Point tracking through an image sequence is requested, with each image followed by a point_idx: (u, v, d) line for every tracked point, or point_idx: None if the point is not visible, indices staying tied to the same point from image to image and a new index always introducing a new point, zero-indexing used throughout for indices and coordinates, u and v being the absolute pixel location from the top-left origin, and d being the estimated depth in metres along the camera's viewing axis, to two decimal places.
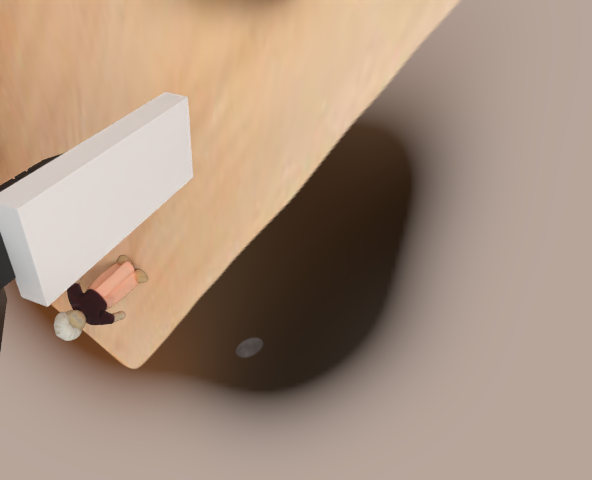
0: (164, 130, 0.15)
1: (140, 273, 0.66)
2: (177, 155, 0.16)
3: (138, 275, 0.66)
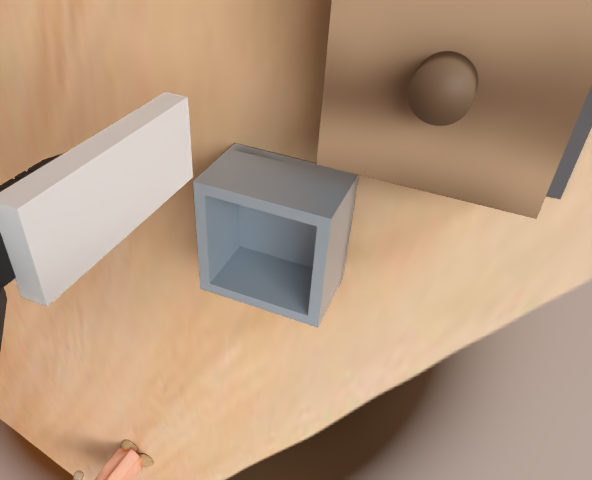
0: (164, 130, 0.15)
1: (145, 459, 0.62)
2: (177, 155, 0.16)
3: (144, 461, 0.62)
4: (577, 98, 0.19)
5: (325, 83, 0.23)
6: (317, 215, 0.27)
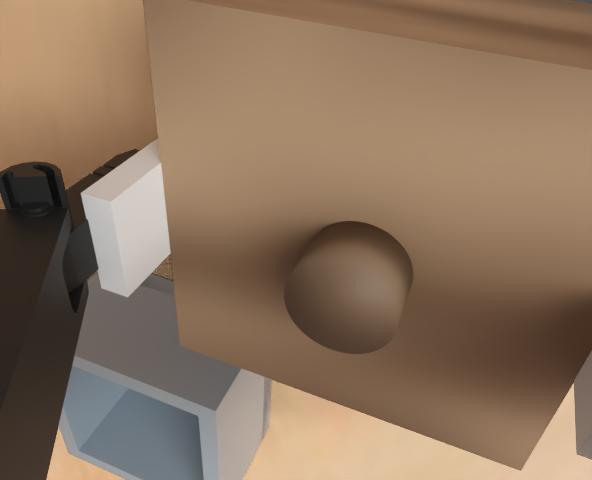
0: None
1: None
2: None
3: None
4: None
5: (171, 243, 0.14)
6: (196, 402, 0.18)
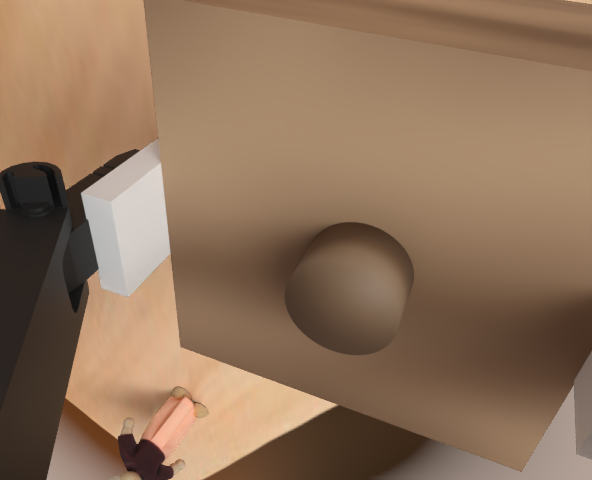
0: None
1: (200, 408, 0.56)
2: None
3: (198, 410, 0.56)
4: None
5: (171, 244, 0.14)
6: None
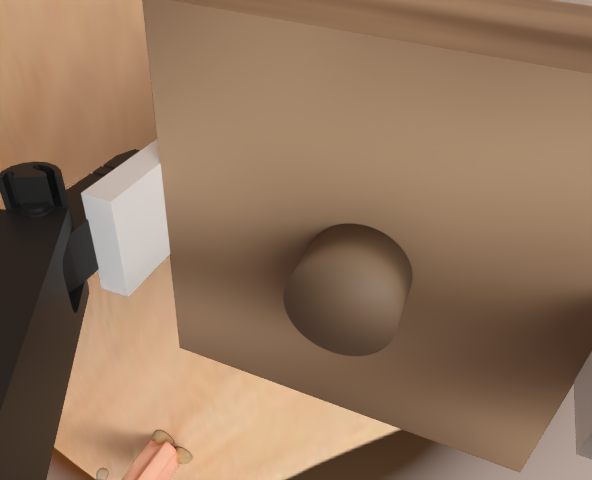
0: None
1: (183, 454, 0.51)
2: None
3: (181, 456, 0.50)
4: (591, 324, 0.10)
5: (171, 245, 0.14)
6: None
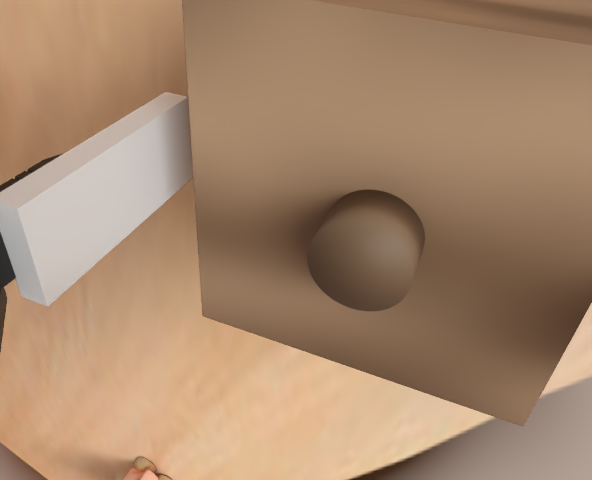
0: (164, 130, 0.15)
1: None
2: (177, 155, 0.16)
3: None
4: (588, 279, 0.11)
5: (198, 216, 0.15)
6: None
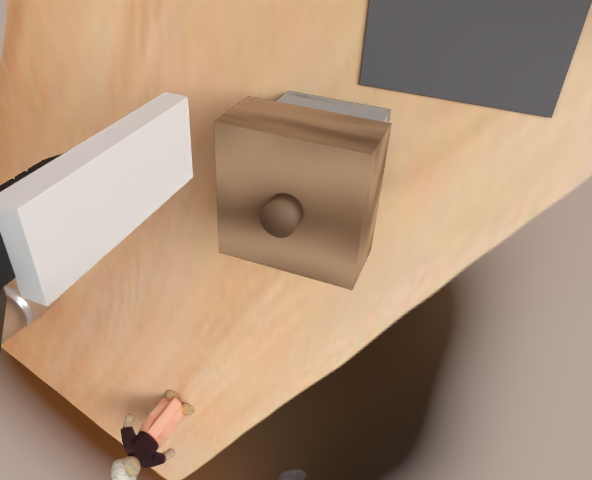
0: (164, 130, 0.15)
1: (187, 407, 0.69)
2: (177, 155, 0.16)
3: (185, 409, 0.69)
4: (357, 223, 0.33)
5: (218, 205, 0.36)
6: None
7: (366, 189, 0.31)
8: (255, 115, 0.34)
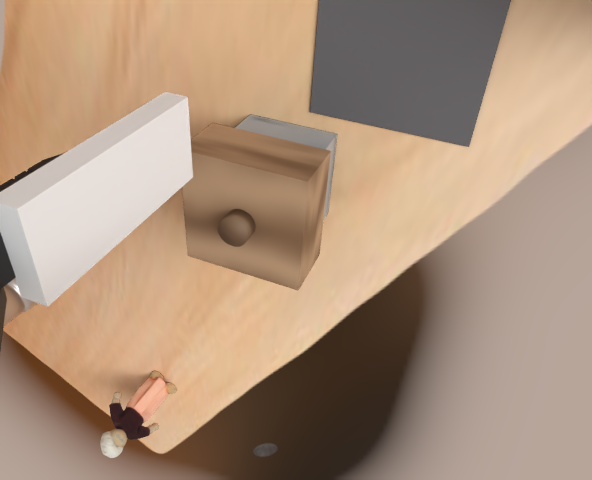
0: (164, 130, 0.15)
1: (170, 386, 0.76)
2: (177, 155, 0.16)
3: (169, 388, 0.76)
4: (299, 235, 0.39)
5: (185, 217, 0.42)
6: None
7: (304, 209, 0.37)
8: (215, 142, 0.40)
